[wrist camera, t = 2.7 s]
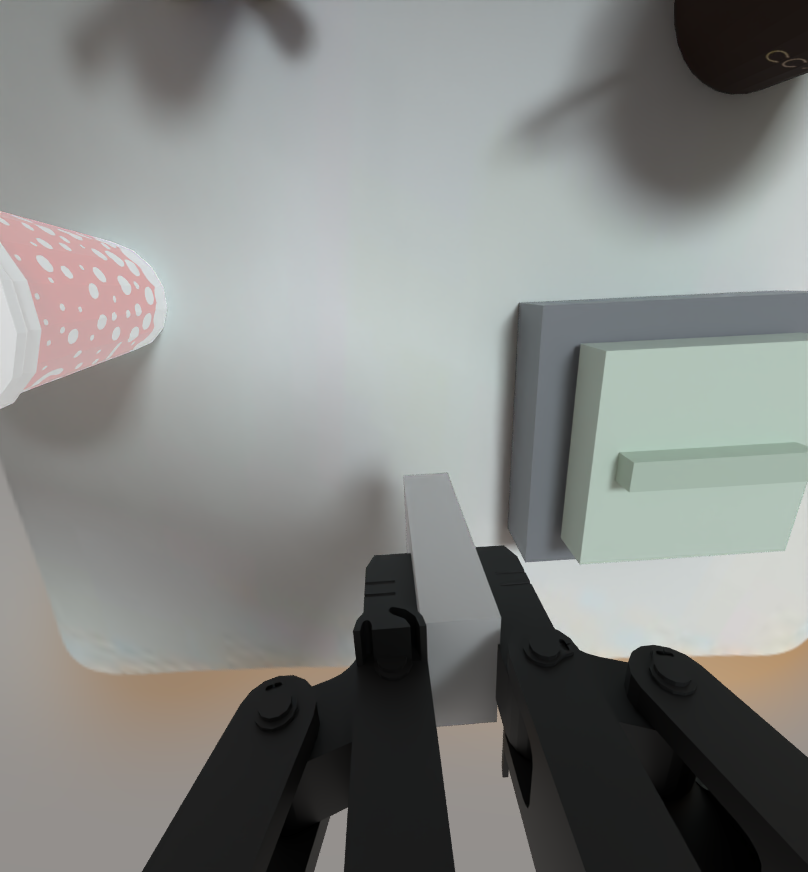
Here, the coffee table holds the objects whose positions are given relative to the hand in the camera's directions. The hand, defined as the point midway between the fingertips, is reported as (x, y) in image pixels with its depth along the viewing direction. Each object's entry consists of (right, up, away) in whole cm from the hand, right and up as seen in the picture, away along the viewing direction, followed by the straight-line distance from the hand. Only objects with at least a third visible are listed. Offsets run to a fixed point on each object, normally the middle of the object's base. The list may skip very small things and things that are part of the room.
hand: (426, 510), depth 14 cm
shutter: (+11, +2, +4) cm, 12 cm away
